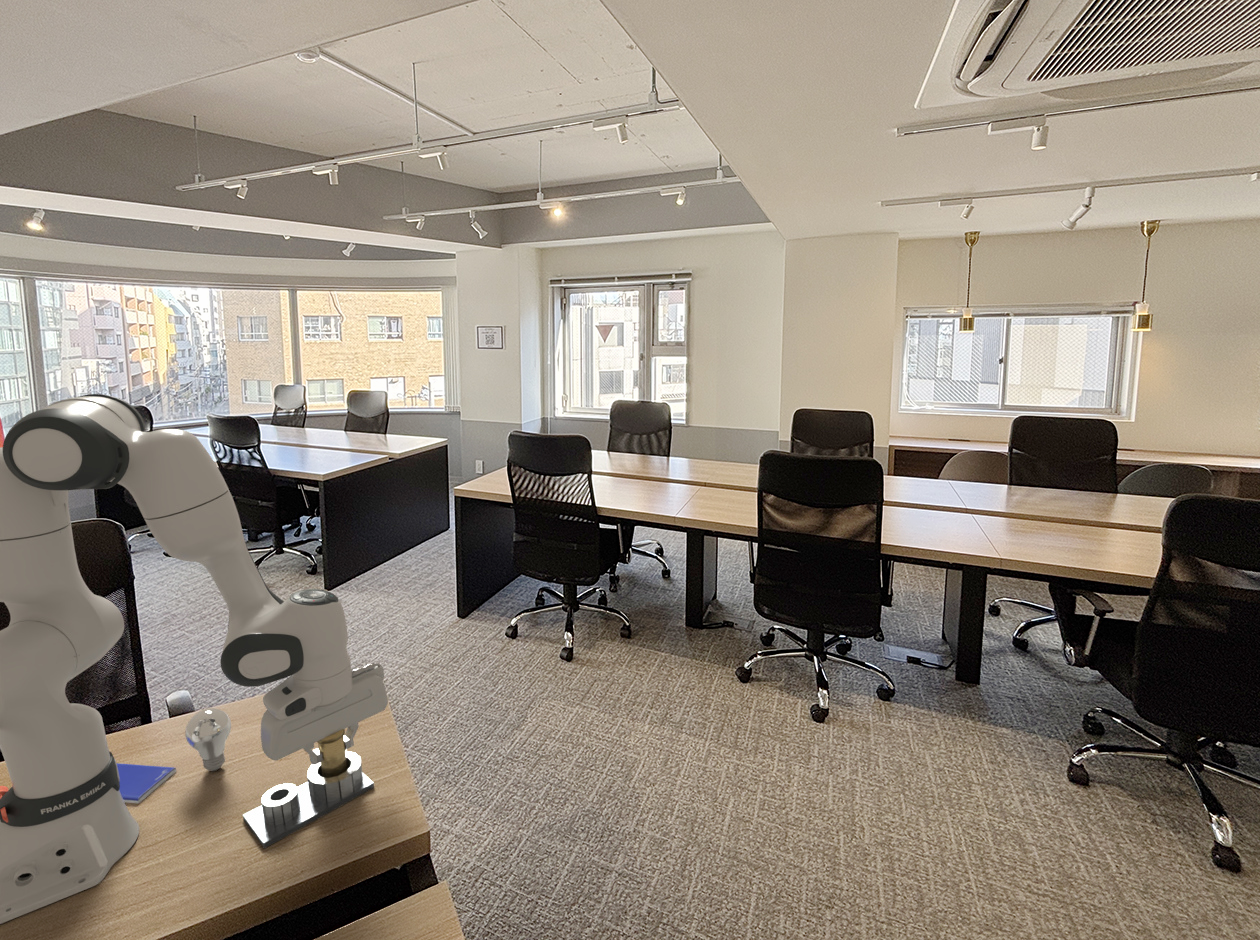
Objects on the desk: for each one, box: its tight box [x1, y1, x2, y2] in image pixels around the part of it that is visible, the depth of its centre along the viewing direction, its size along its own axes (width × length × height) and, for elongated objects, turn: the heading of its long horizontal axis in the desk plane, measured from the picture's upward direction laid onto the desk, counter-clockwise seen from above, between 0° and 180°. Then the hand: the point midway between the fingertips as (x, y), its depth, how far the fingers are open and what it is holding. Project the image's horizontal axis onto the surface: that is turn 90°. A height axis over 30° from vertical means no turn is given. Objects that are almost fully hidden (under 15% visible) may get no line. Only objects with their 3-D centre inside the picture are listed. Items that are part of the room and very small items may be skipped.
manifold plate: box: [242, 750, 375, 849], centre depth 109 cm, size 18×9×4 cm, turn 138°
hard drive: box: [116, 762, 177, 804], centre depth 114 cm, size 2×8×12 cm
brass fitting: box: [316, 728, 347, 778], centre depth 111 cm, size 5×5×10 cm
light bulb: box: [184, 707, 232, 772], centre depth 117 cm, size 7×7×12 cm
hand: (332, 754), depth 111 cm, fingers closed on brass fitting, 4 cm apart
